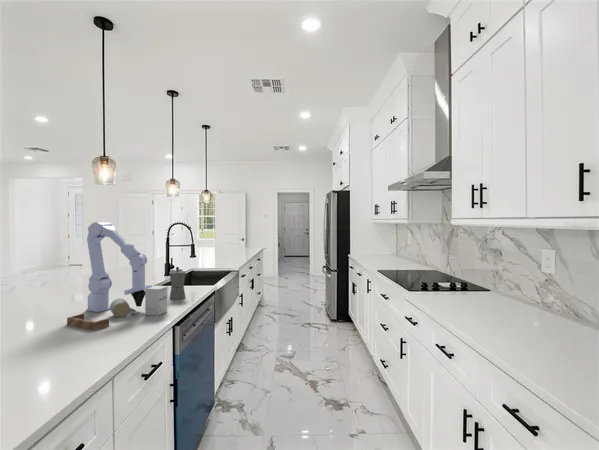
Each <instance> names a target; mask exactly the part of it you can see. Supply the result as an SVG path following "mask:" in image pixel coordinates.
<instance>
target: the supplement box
mask: <svg viewBox="0 0 599 450" xmlns="http://www.w3.org/2000/svg"><path fill="white" fill-rule="evenodd" d="M144 291H145V296H144V298H145V299H144V302H145V305H144V306H145V308H144V309H145V310H144V314H145V315H146V316H160V315H162V314H163V315H164V313H167V312H168V286H166V285H165V286H164V285H154V286H152V287H150V288H147V289H145V290H144Z"/></svg>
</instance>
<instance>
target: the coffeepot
mask: <svg viewBox="0 0 599 450" xmlns="http://www.w3.org/2000/svg"><path fill="white" fill-rule="evenodd" d="M175 268H176V269H171V270H170V271H169V278H170V279H169V280H170V284H171V286H170V287H171V288H170V293H169V300H176V301H177V300H184V299H185V298H186V293H185V285H184V284H185V278H186V271H185V270H181V269H180V270H179V268H180V267H178V266H176V267H175Z"/></svg>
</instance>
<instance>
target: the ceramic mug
mask: <svg viewBox="0 0 599 450" xmlns="http://www.w3.org/2000/svg"><path fill="white" fill-rule="evenodd" d="M109 307H110V309H109V310H110V312H111V313H112V315H113V316H114V317H116V318H119V319H121V318H124V317H127V315H128V314H129V315H136V313H137V310H136V309H134V308H131V306H130V305H129V302H128V301H127V300H126V299H125V298H116V299H114V300H112V302H111V303H110V304H109Z"/></svg>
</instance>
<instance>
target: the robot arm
mask: <svg viewBox="0 0 599 450" xmlns="http://www.w3.org/2000/svg"><path fill="white" fill-rule="evenodd" d="M87 230H88V235H87V239H86V242H87V247H88V254H89V255H88V256H89V261H90V266H91V267H90V268H91V275H90V277H89V278H88V285H87V286H88V287H87V288H88V290H89V292H90V293H89V294H88V296H87V308H86V309H85V310H86V311H90V312H94V313H95V312H96V313H101V312H104V311H108V310H110V304H109V303H110V299H109V298H110V296H109V292H110V289H111V287H112V285H113V282H112V280H111V278H110V276H109V274H108V273H107V271H106V269H105V264H104V255H103V250H102V244H101V241H102V240H103V239H104V238H105V237H107V238H109V239H110V240H112V241H113V242H114V244H116V245H117V246H118V247H119V248H120V252H121V253H122V254H123V255H124V256H125V258H127V260H128V261H129V262H128V263H129V265H130V267H131V270H132V271H131V278H132V279H131V280H132V281H131V284H132V285H131V287H130V288H128V289H124V292H123V293H124V295H131V296H132V298H133V300H134V303H135V306H136V307H139V308H140V307H142V304H143V301H144V298H145V289H147V288H150V287H153V285H152V284H151V285H150V284H148V285H146V264H147V263H148V258H147V256H146V255H145V254H143V253H141V252H140V251H138V250H137V249H136V247H135V244H132V243H127V241H125V239H124V238H123V236H121V234H120V233H119V232H118V231H117V230H116V227H115V226H114V225H113V224H112V223H111V222H109V221H105V222H97V221H95V222H92V223H91V224H90V225H89V226H88V227H87Z"/></svg>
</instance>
